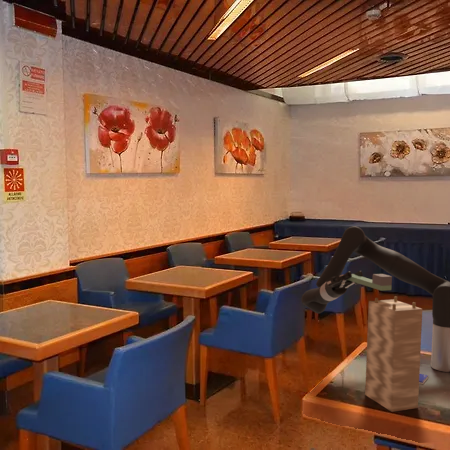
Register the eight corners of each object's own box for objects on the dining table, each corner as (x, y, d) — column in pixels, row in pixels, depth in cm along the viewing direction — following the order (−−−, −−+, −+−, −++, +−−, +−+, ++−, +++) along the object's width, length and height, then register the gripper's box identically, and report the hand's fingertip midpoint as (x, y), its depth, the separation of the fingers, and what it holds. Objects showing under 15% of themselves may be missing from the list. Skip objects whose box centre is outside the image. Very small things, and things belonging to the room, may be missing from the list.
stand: (365, 394, 175) (368, 296, 172) (389, 391, 178) (393, 295, 176) (391, 411, 162) (396, 306, 159) (417, 407, 165) (422, 304, 162)
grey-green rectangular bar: (344, 278, 191) (344, 266, 191) (353, 278, 193) (353, 266, 192) (381, 290, 171) (381, 276, 170) (391, 290, 172) (392, 276, 172)
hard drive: (428, 374, 192) (394, 367, 199) (422, 381, 185) (388, 374, 192) (428, 379, 192) (394, 371, 199) (422, 385, 185) (388, 378, 192)
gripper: (314, 280, 201) (336, 264, 187) (346, 279, 206) (369, 263, 192) (319, 299, 198) (341, 284, 184) (351, 297, 203) (375, 282, 189)
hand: (355, 273), depth 188 cm, fingers closed on grey-green rectangular bar, 4 cm apart
